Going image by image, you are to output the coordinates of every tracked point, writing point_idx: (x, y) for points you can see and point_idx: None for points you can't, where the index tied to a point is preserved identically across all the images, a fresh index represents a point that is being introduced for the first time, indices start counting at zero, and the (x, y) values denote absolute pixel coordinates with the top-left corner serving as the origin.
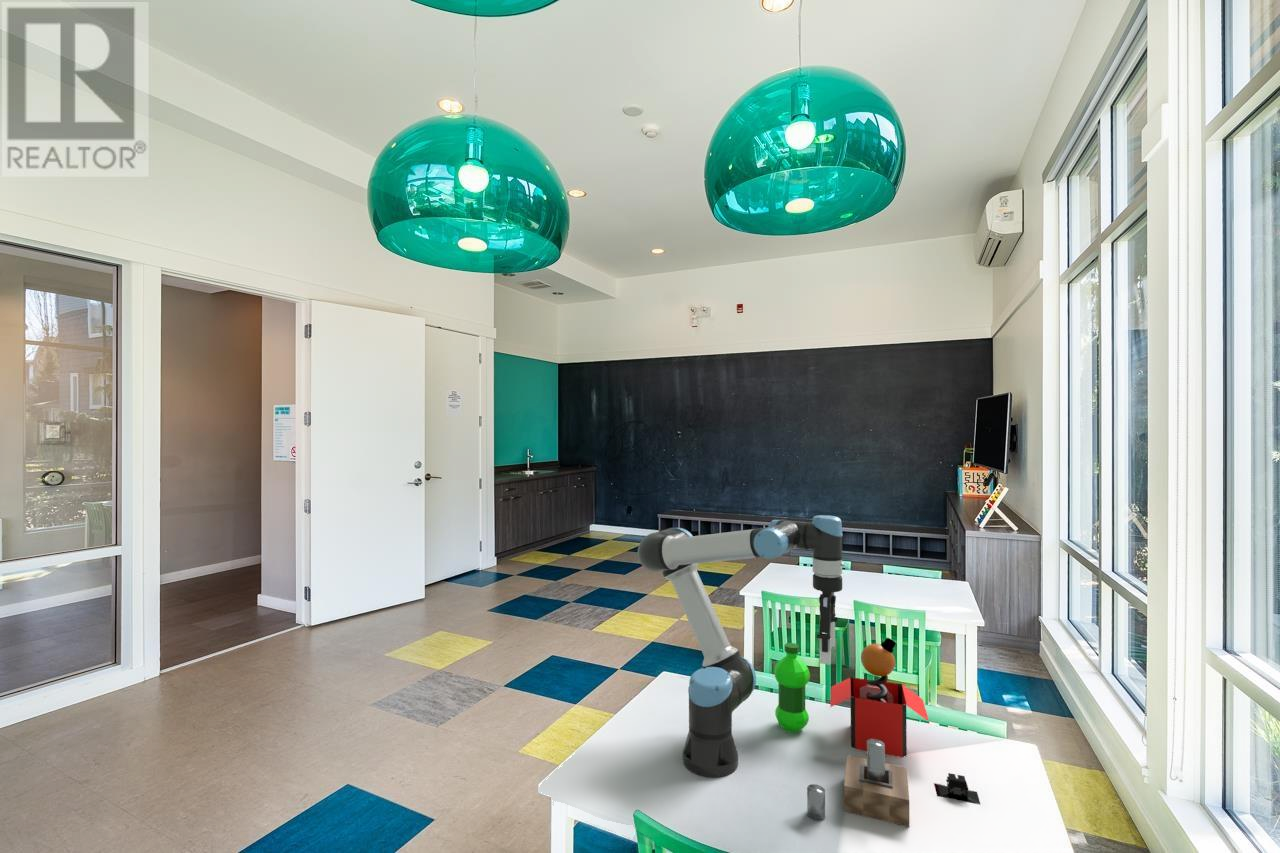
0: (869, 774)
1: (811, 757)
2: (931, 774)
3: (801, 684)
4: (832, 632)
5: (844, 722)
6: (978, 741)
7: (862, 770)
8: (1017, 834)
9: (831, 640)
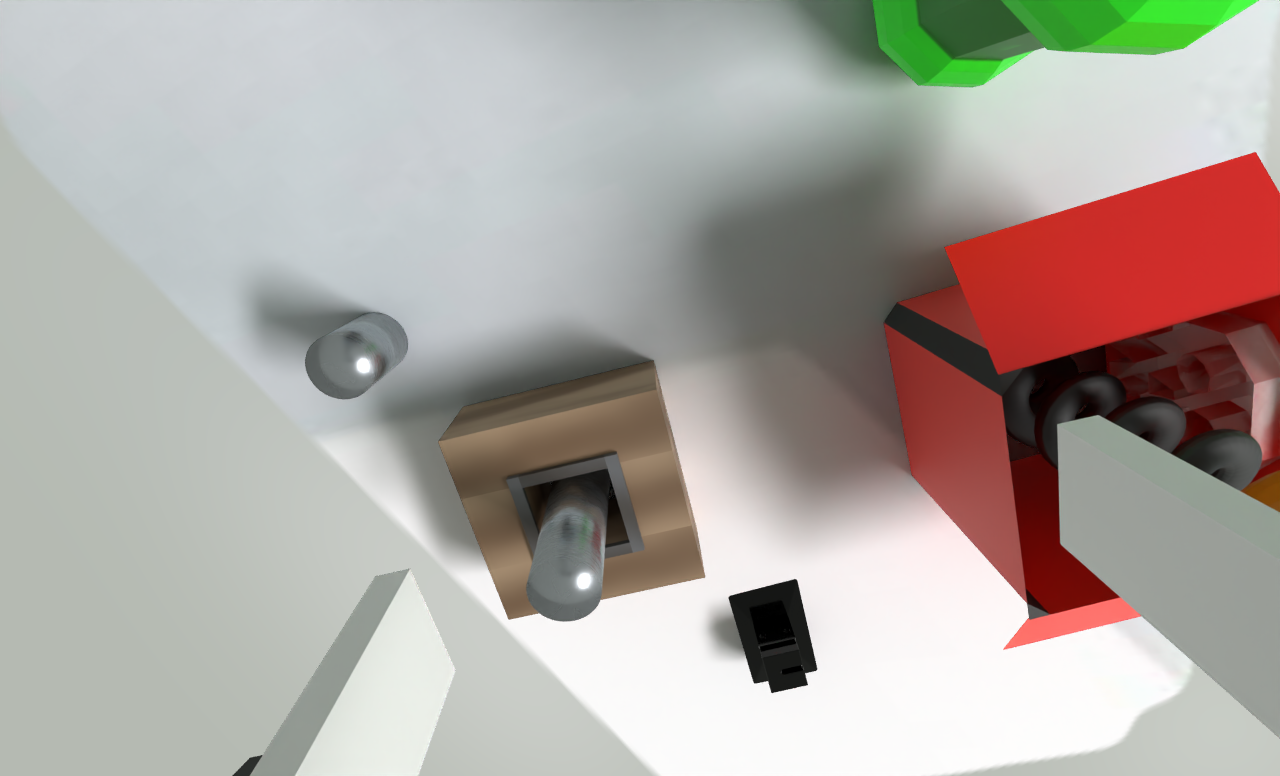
0: (548, 504)
1: (720, 193)
2: (846, 565)
3: (1032, 29)
4: (1234, 668)
5: None
6: (1149, 642)
7: (572, 471)
8: (670, 753)
9: (1118, 556)
